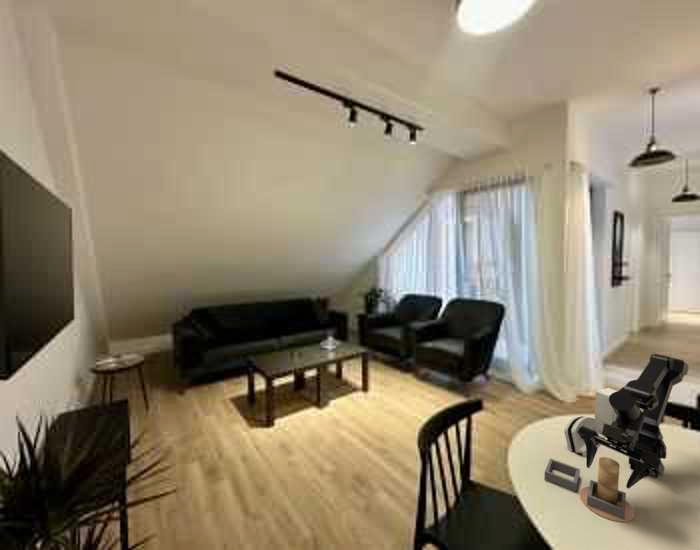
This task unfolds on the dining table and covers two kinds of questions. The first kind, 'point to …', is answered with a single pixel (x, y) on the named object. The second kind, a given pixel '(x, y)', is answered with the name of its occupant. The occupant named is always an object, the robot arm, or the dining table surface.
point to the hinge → (573, 437)
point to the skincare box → (604, 408)
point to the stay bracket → (607, 504)
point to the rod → (608, 480)
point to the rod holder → (559, 479)
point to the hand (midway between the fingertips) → (606, 477)
